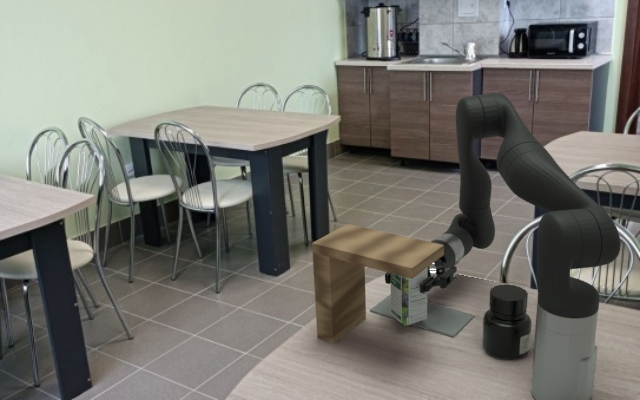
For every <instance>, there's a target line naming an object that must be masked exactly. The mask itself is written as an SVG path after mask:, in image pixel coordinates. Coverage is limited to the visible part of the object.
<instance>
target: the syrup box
mask: <svg viewBox="0 0 640 400" xmlns="http://www.w3.org/2000/svg"><path fill="white" fill-rule="evenodd" d="M427 268H428V267H427ZM427 268H426V269H425V270H423V271H422V272H421V273H419V274H418V275H417V276H415V277H414V278H413V279H411V278H407V277H403V276H399V275H396V274H392V273H391V283H390V294H391V315H392V316H394V317H395V318H396V319H397V320H396V321H398V322H400V323H401V324H402V325H403V326H404V327H405V326H410V325H411V324H413V323H416V322H419V321H422V320H425V319H427V302H428V292H425V293H424V294H423V293H420V283H421V282H422V281H424V280H425V279H426V278H427V271H428V270H427Z"/></svg>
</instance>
